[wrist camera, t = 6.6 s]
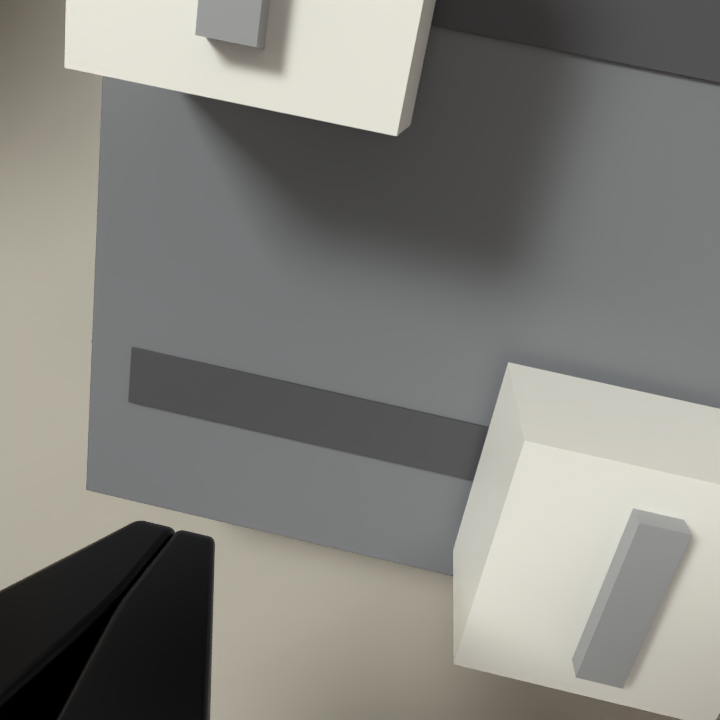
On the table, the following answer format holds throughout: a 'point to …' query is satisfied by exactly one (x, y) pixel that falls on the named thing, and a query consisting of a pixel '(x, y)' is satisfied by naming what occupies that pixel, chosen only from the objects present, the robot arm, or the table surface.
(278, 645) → the table surface
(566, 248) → the console
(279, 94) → the switch middle
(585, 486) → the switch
